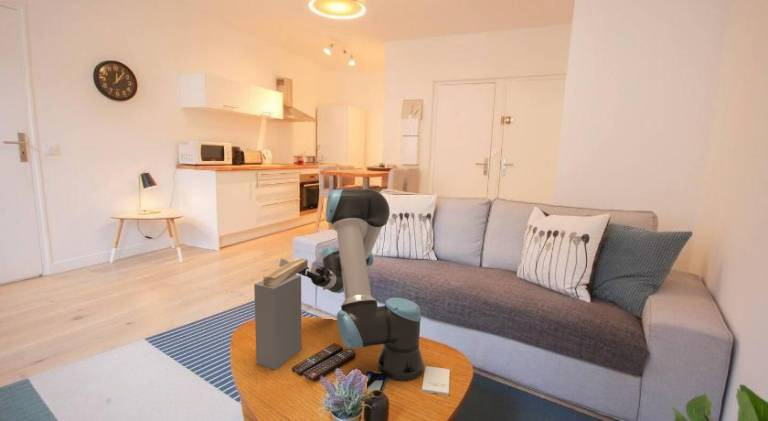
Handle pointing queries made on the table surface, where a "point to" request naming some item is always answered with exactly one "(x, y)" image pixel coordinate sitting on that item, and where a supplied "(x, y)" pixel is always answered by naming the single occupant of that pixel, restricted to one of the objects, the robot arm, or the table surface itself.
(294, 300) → the tall stand
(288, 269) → the birch strip
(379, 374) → the smartphone
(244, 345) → the table surface
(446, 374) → the external hard drive
